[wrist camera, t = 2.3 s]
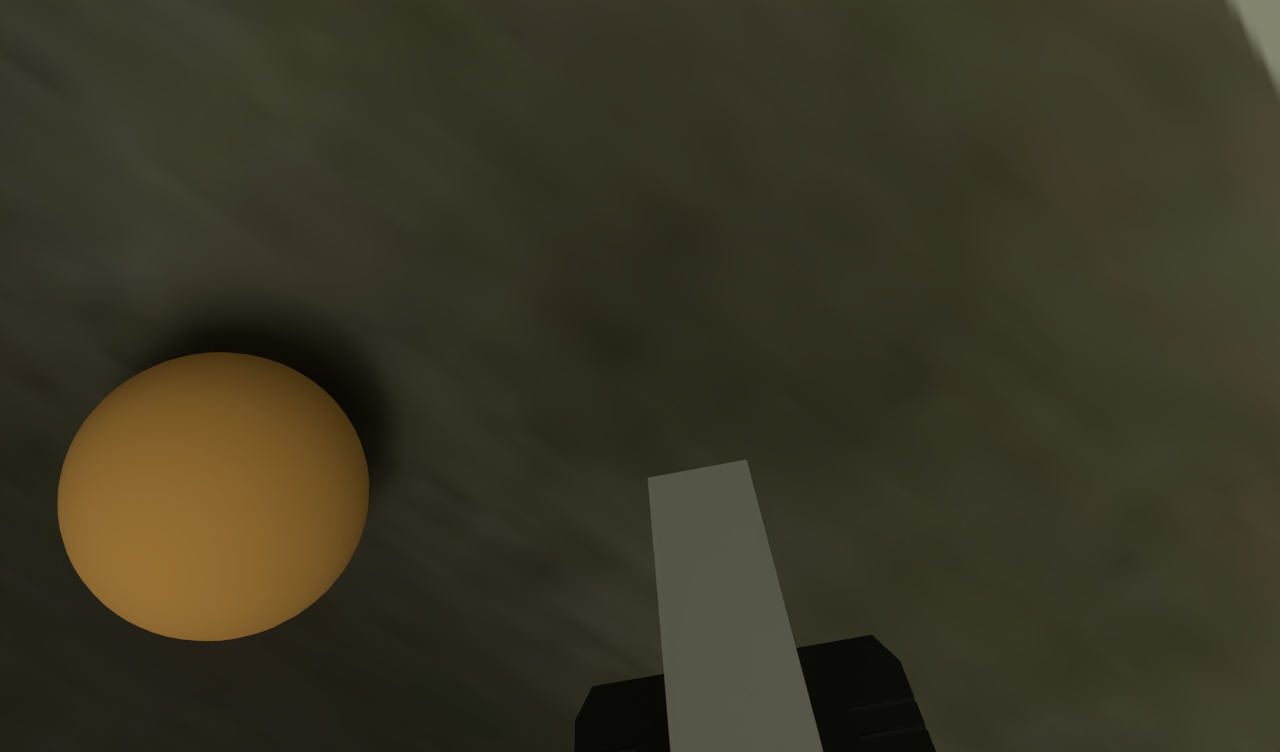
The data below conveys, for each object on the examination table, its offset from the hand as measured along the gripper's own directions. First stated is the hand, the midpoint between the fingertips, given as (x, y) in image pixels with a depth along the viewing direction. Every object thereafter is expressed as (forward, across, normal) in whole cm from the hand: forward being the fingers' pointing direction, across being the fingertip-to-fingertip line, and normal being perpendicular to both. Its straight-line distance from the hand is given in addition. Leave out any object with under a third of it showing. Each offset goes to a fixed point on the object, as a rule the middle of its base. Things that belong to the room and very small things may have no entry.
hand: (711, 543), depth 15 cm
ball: (+6, +10, 0) cm, 11 cm away
